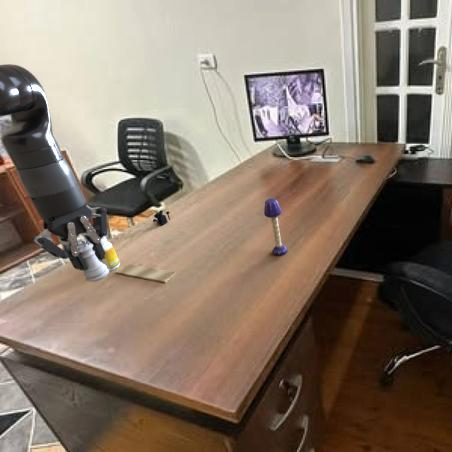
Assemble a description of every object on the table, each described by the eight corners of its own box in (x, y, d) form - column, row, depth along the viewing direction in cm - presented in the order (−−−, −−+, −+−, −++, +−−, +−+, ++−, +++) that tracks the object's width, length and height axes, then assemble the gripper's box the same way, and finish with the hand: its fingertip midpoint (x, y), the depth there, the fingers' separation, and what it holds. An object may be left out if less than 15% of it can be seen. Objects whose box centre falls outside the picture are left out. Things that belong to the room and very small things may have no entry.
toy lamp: (291, 250, 101) (282, 197, 93) (281, 258, 98) (271, 205, 89) (279, 246, 103) (269, 195, 95) (268, 254, 100) (257, 202, 92)
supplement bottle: (99, 275, 98) (84, 246, 94) (101, 265, 103) (86, 237, 98) (120, 268, 100) (106, 240, 95) (121, 259, 104) (108, 232, 100)
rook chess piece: (93, 285, 70) (76, 251, 67) (81, 279, 72) (64, 247, 69) (114, 272, 74) (99, 240, 70) (102, 267, 76) (87, 236, 72)
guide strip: (115, 273, 98) (115, 271, 98) (127, 265, 101) (126, 263, 101) (165, 283, 92) (164, 281, 92) (176, 274, 95) (175, 272, 95)
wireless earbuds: (157, 229, 120) (152, 216, 117) (152, 228, 121) (147, 215, 118) (173, 219, 125) (168, 207, 123) (168, 219, 126) (163, 206, 124)
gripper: (75, 171, 70) (108, 243, 79) (-4, 201, 59) (45, 282, 67) (101, 173, 68) (133, 248, 76) (24, 204, 56) (71, 288, 65)
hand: (91, 263), depth 72 cm, fingers closed on rook chess piece, 3 cm apart
